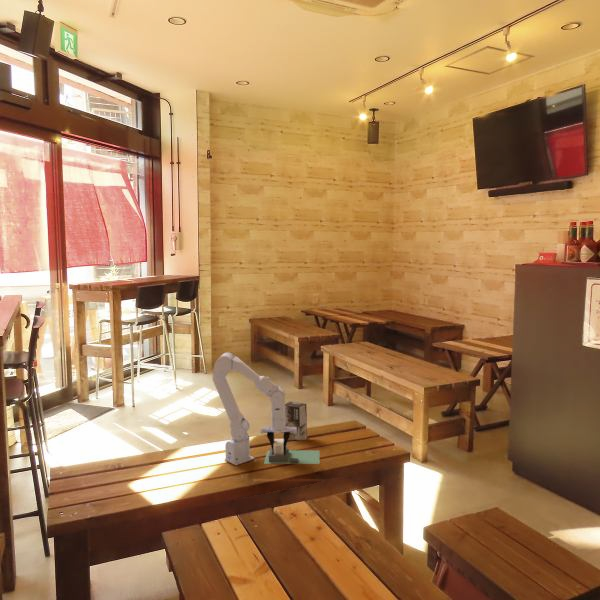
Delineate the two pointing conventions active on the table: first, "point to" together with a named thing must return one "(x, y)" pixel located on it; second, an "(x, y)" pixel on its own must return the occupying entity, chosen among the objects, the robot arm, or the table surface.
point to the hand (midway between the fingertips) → (278, 450)
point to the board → (293, 457)
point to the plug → (278, 447)
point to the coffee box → (296, 419)
